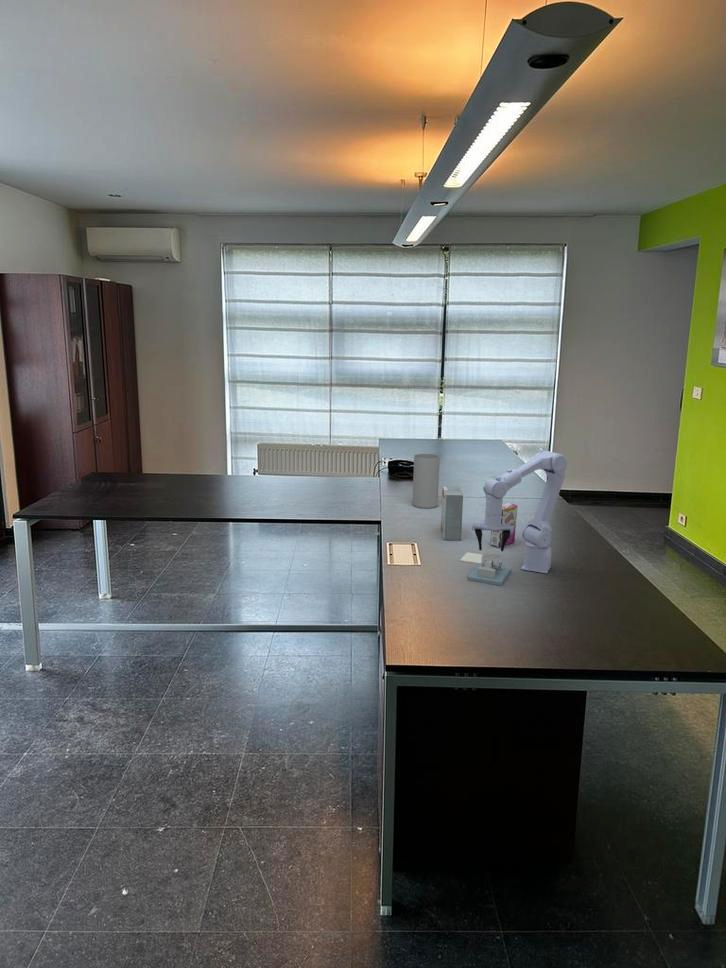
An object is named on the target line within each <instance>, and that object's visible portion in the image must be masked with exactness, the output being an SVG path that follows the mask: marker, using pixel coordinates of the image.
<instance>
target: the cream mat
mask: <svg viewBox="0 0 726 968" xmlns="http://www.w3.org/2000/svg"><path fill="white" fill-rule="evenodd" d="M482 556H483V554H479V553H474V552H469V551H467V552H466V553H465V554H464V555H463V556H462V557H461V558H460V560H459V561H460V562H465V563H469V564H470V563H471V564H476V565H478V564H479V563H481V560H482Z"/></svg>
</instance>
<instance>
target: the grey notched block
mask: <svg viewBox="0 0 726 968" xmlns="http://www.w3.org/2000/svg"><path fill="white" fill-rule="evenodd" d="M482 555H483V556H482V560H481V566H482V567H485V562H486V560H487V561H493V568H495V569H497V568H498V566H499V561H500V560H501V555H499V554H498V555H497V554H494V553H493V554H491V553H485V552H484V553H483V554H482Z"/></svg>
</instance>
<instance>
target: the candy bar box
mask: <svg viewBox="0 0 726 968" xmlns="http://www.w3.org/2000/svg"><path fill="white" fill-rule="evenodd" d="M517 515H518V504H514V503H509V502H508V503H507V502H506V503H502V517H501V524H504V525H513V526H514V531H513V532H510V537H509V538H508V540H507V542H506V544H505V546H509V545H511V544H514V543H515V541H516V540H515V538H516V528H517V527H516V526H517V519H518V518H517ZM490 532H491V533H490V542H489V545H490V546H491V547H496V548H498V549H499V548H500V549H501V542H502V531H490ZM505 546H504V547H505Z"/></svg>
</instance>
